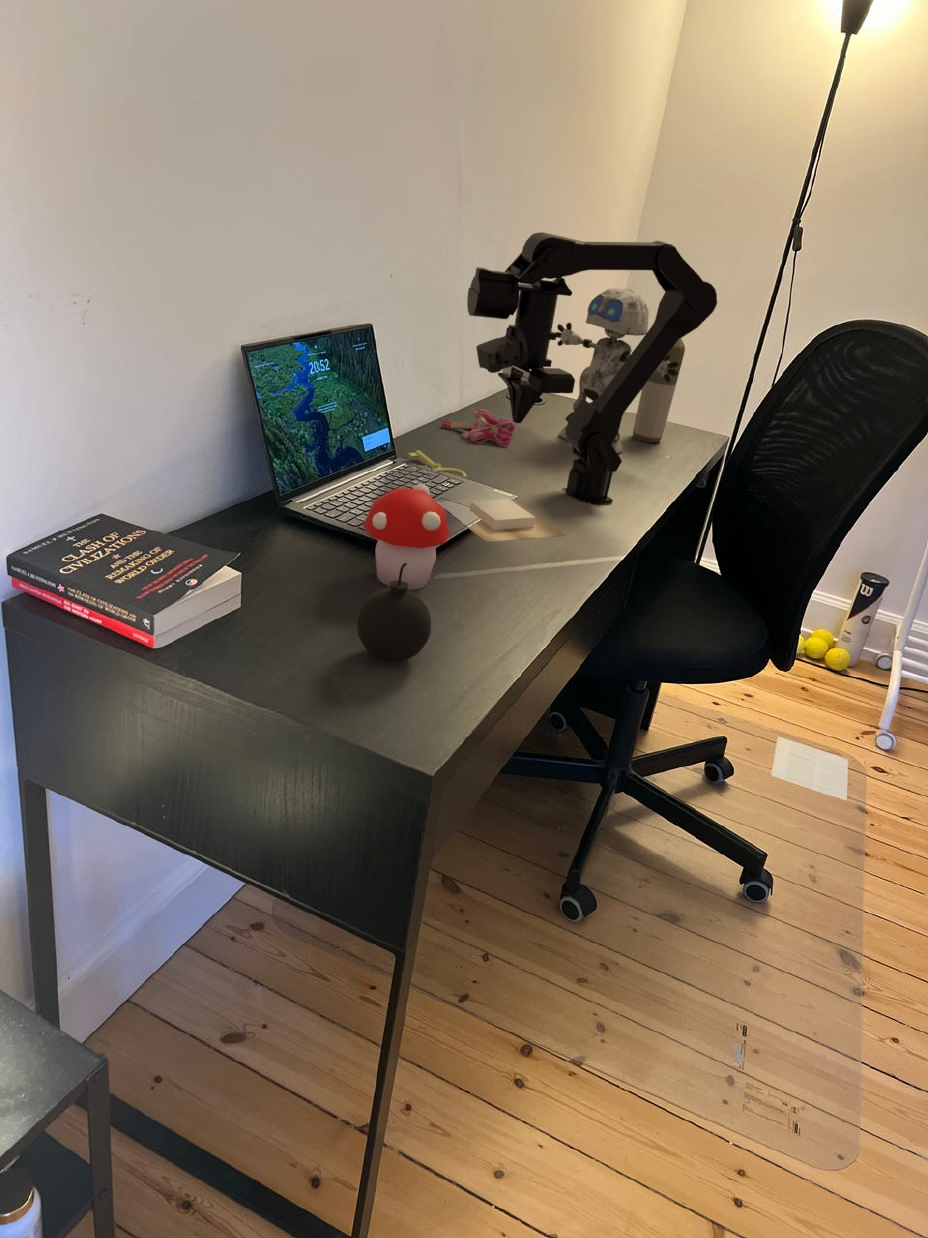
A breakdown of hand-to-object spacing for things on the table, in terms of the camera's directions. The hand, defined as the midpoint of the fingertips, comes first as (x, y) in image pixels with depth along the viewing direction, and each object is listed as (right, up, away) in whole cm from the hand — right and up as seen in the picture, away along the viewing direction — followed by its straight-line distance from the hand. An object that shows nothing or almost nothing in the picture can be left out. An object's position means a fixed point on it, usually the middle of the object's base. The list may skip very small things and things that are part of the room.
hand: (516, 422), depth 151 cm
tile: (-5, -14, -5) cm, 15 cm away
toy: (-6, +3, +32) cm, 33 cm away
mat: (-3, -16, -7) cm, 18 cm away
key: (-13, -7, +10) cm, 18 cm away
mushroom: (-17, -26, -30) cm, 43 cm away
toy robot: (+17, +4, +40) cm, 44 cm away
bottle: (+30, +6, +49) cm, 58 cm away
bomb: (-17, -36, -48) cm, 62 cm away
